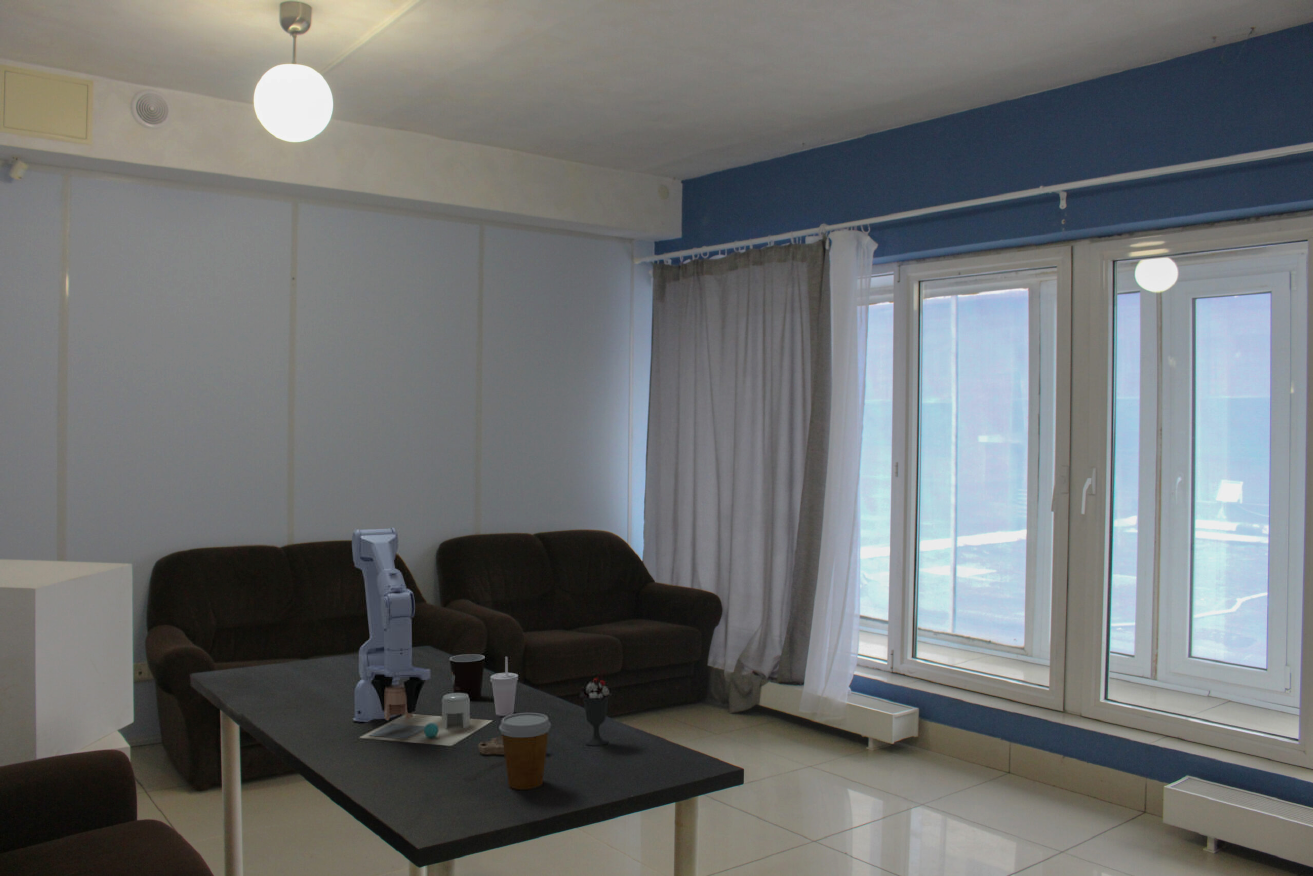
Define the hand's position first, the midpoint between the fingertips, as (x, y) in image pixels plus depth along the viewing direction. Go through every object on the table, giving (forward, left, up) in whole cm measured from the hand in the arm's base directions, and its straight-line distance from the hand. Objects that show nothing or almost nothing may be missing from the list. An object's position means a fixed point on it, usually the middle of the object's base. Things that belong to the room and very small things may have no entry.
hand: (398, 711), depth 212 cm
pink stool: (0, 0, -1) cm, 1 cm away
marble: (+9, -2, -3) cm, 10 cm away
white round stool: (+10, +7, -4) cm, 13 cm away
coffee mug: (-1, +34, -6) cm, 34 cm away
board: (+5, +4, -6) cm, 8 cm away
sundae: (+43, +7, -6) cm, 44 cm away
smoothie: (+16, +19, -6) cm, 25 cm away
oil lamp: (+29, -5, -6) cm, 30 cm away
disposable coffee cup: (+39, -20, -6) cm, 44 cm away
